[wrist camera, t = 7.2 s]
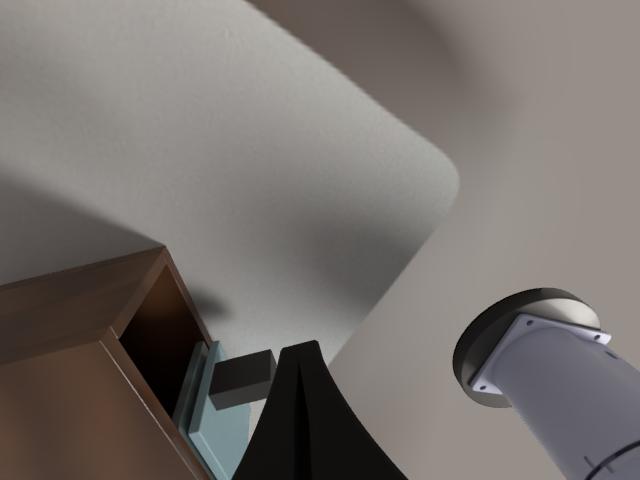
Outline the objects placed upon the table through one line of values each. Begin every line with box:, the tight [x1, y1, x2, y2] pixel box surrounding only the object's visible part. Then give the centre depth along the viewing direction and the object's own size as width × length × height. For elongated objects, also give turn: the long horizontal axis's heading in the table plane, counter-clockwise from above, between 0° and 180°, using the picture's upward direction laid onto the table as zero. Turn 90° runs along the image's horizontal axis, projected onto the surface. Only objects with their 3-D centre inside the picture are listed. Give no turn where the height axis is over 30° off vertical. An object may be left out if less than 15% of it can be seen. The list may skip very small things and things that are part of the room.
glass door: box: [188, 341, 276, 480], centre depth 20 cm, size 4×7×6 cm, turn 12°
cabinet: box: [0, 246, 217, 480], centre depth 18 cm, size 10×14×8 cm
